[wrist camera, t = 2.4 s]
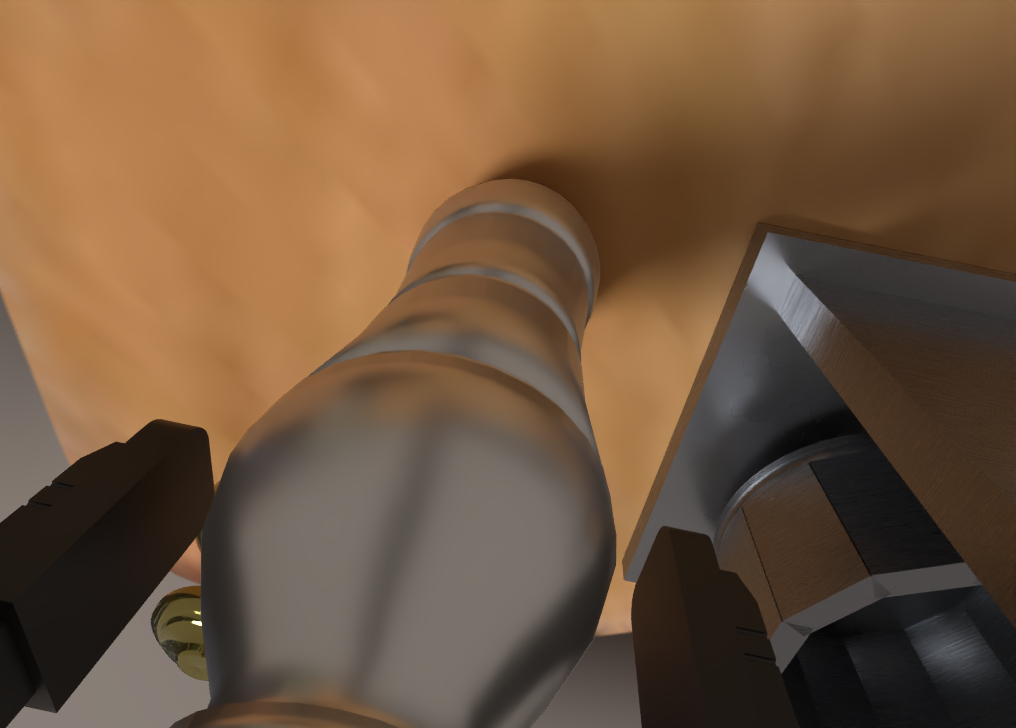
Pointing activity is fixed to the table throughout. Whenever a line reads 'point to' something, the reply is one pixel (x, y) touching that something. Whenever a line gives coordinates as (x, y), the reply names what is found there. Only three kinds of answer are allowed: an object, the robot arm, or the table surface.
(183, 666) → the brass knob
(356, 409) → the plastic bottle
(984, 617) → the cup bracket
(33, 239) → the table surface
